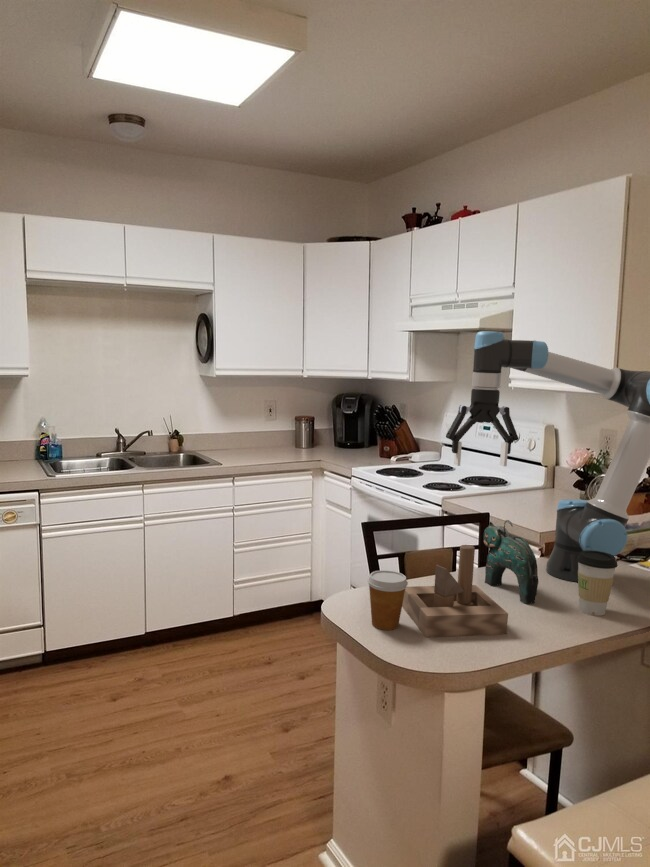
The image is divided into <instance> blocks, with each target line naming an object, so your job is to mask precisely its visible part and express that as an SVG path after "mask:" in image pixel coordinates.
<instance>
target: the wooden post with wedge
mask: <svg viewBox="0 0 650 867" xmlns="http://www.w3.org/2000/svg"><path fill="white" fill-rule="evenodd" d="M475 551H476V548H475V546H474V545H470V544H461V545H460V546H459V557H458V569H457V570H458V571H457V572H458V574H457V580H456V579H455V577H454V576H453V575H452V574H451V572H450V571H449V570H448V569H447V568H446V567H443V566H440V565H439V564H436V565H435V574H434V586H435V587H434V592H435V594H434V607H461V606H474V604H473V603H472V602H471V596H472V585H473V582H474V581H473V579H474V566H475V565H474V564H475V554H476V553H475ZM454 594H457V599H456V600H457V601H454Z"/></svg>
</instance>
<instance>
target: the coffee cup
mask: <svg viewBox="0 0 650 867" xmlns="http://www.w3.org/2000/svg"><path fill="white" fill-rule="evenodd" d="M577 561H578V569H579V570H578V585H577V587H578V588H577V589H578V597H579V598H578V601H579V602H578V603H579V604H578V607H579V611H580V612H582V613H583V614H587V615H590V616H594V617H595V616H596V617H599V616H604V615H605V614H606V611H607V606H608V603H609V600H610V595H611V591H612V588H613V584H614V578H615V571H616V568H617V567H618V566H619V565H618V561H617V559H616V556H613V555H611V554H608V553H605V552H600V551H592V550H586V551H581V552H580V554H579V556H578V557H577Z"/></svg>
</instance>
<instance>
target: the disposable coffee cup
mask: <svg viewBox="0 0 650 867" xmlns="http://www.w3.org/2000/svg"><path fill="white" fill-rule="evenodd" d="M367 584H368V587H369V602H370V613H371V614H370V615H371V625H372V626H373V627H374V628H376V629H379V630H382V631H383V630H384V631H392V630H396V629H398V628H399V623H400V619H401V614H402V608H403V607H402V604H403V599H404V593H405V588H406V587H408V585H409V583H408V580H407V576H406V575H404V574H403V573H401V572H398V571H395V570H385V569H384V570H374V571H372V572H371V573H370V574H369V577H368V578H367Z"/></svg>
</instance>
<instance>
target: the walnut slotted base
mask: <svg viewBox="0 0 650 867" xmlns="http://www.w3.org/2000/svg"><path fill="white" fill-rule="evenodd" d="M434 587H435V585H426V586H425V585H424V586H423V585H422V586H420V585H419V586H418V585H417V586H413V585H412V586H407V587H406V588H405V593H404V599H403V604H402V608H403V610H404V611H405V612H406V613H407V615H408V616H409V618H410V619H411V621H413V622H414V624H415V625H416V627H417V628H418V629H419V630H420V632H421V633H422V634H423V636H424V637H425V638H432V637H433V638H435V637H436V638H437V637H455V636H456V637H458V636H459V637H460V636H461V637H462V636H487V635H507V632H508V623H509V622H508V619H509V612H507V611H506V610H505V609H504V608H502V607H501V606H500V605H499V604H498V603H497V602H496V601H495V600H493V599H492V598H491V597H490V596H489V594H487V593H486V592H485V591H484V590H482V589H481V588H480V587H479V586H478V585H476V584H472V596H471V602H472V603H473V604H474V606H461V607H434V594H435V592H434ZM456 599H457V594H454V601H457V600H456Z"/></svg>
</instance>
